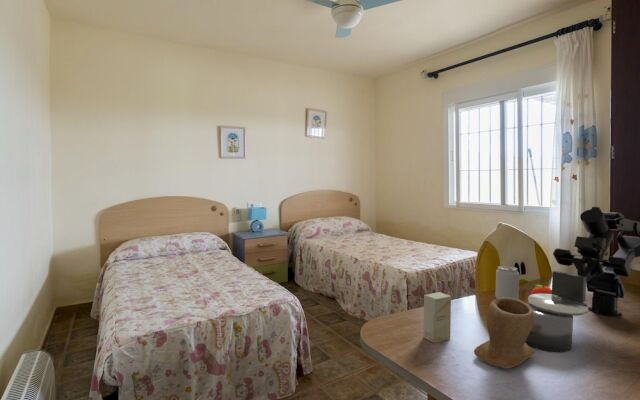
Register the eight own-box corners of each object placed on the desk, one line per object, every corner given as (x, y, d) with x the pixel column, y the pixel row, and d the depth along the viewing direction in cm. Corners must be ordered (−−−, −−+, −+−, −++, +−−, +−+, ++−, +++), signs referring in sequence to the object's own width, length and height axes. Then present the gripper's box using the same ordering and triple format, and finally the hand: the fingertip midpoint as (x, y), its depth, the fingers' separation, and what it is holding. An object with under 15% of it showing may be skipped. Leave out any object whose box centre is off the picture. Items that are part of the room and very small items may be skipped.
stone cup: (515, 380, 77) (517, 313, 76) (466, 357, 87) (468, 298, 86) (549, 361, 85) (551, 300, 84) (501, 342, 95) (503, 287, 94)
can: (522, 303, 124) (523, 270, 123) (501, 303, 124) (502, 270, 124) (511, 296, 132) (512, 264, 131) (491, 296, 132) (492, 264, 131)
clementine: (523, 303, 124) (524, 283, 124) (534, 299, 128) (535, 280, 127) (547, 310, 117) (548, 289, 117) (558, 306, 121) (559, 286, 121)
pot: (508, 318, 111) (508, 294, 110) (581, 344, 93) (582, 314, 93) (482, 328, 104) (483, 301, 103) (556, 357, 87) (557, 325, 86)
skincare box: (434, 344, 94) (435, 299, 93) (422, 337, 98) (423, 294, 97) (451, 338, 97) (452, 295, 96) (438, 332, 101) (439, 291, 100)
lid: (543, 294, 109) (544, 268, 108) (597, 308, 97) (599, 279, 96) (517, 303, 101) (518, 275, 101) (572, 319, 89) (574, 288, 89)
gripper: (556, 223, 115) (537, 261, 110) (628, 230, 99) (610, 274, 94) (567, 245, 120) (549, 281, 115) (638, 255, 104) (621, 298, 99)
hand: (579, 283), depth 106 cm, fingers closed
